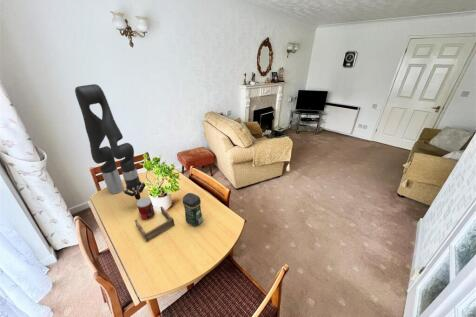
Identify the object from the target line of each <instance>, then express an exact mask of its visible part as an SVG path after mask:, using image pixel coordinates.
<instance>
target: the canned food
mask: <svg viewBox="0 0 476 317" xmlns="http://www.w3.org/2000/svg"><path fill="white" fill-rule="evenodd" d="M136 206H137V210H138V213H139V216H140V218H141V219H142V220H143V221H149V220H151V219H153V218H154V217H155V210H154V207H153V201H152V199H151V198H150V197H142V198H140V199H139V200H137V202H136Z"/></svg>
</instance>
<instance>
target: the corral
mask: <svg viewBox="0 0 476 317" xmlns="http://www.w3.org/2000/svg"><path fill="white" fill-rule="evenodd" d="M160 211H161V214H162V216H164V218H165V219H166V220H167V221H165V222H163V223H161V224H159V225H157V226H156V227H154V228H153V229H150V230H149V231H147V232H146V231H145V229H143V226H141V225H142V224H140V223H139V221H138V219H135V220H134V222H135V226H136V227H137V229H138V231H139V232H140V234H141V235H142V236H143V239H144V240H145V242H146V243H147V242H149V241H151V240H153V239H154V238H156V237H158V236H159V235H161V234H162V233H164V232H165V231H168V230H169V229H171V228H172V227H175V221H174V218H173V217H172V216H171V215H170V213H169V212H168V211H167V210H166V209H165V208H164V207H163V206H160Z"/></svg>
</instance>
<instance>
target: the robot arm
mask: <svg viewBox="0 0 476 317" xmlns="http://www.w3.org/2000/svg"><path fill="white" fill-rule="evenodd" d="M74 93H75V97H76V100H77V102H78V105H79V109H80V111H81V113H82V118H83V123H84V128H85V131H86V132H85V133H86V134H87V135H86V136H87V139H88V142H89V147H90V148H89V149H90V154H91V159H92V160H93V162H94V163H95V164H96V165H99V164H102V165H101V166H100V167H99V170H100V172H101V175H102V177H103V179H104V180H103V181H104V183H105V185H106V188H107V190H108V192H109V194H110V193H112V195H116V194H120V193H122V192H123V194H125V195H127V196H130V197H134V199H135V200H137V201H138V200H140V199H142V198H141V193H143V191H144V189H145V187H146V185H145V184H146V183H145V182H142V181H141V180H140V176H139V173H138V170H137V168H136V164H135V161H134V160H135V149H134V146H133V145H132V144H131V143H129V142H124V143H122V144H119V145H118V142H119V141H121V140H122V139H123V137H124V136H123V134H122V132H121V130H120V128H119V126H118V125H117V122H116V121H115V118H114V116H113V115H114V114H113V113H112V110H111V107H110V105H109V102H108V99H107V98H106V97H107V96H106V95H105V92H104V90H103V89H102V87H101V86H100V85H99V84H96V83H95V84H93V83H92V84H85V85H80V86H76V87H75V88H74ZM96 104H99V106H100V108H101V113H102V114H101V115H102V116H101V118H100V116H98V115H97V114H95V112H93V111H92V110H91V106H92V105H96ZM105 137H106V139H107V141H108V143H109V146H107V145H104V146H102V147H101V144H102V143H103V141H104V140H105ZM115 159H116V160H120V162H119V166H120V170H121V172H122V177H123V179H124V182H125V187H124V185H123V180H122V178H121V176H120V173H119V171H118V166H117V162H116V160H115ZM115 193H116V194H115Z"/></svg>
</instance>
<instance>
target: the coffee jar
mask: <svg viewBox="0 0 476 317" xmlns="http://www.w3.org/2000/svg"><path fill="white" fill-rule="evenodd" d="M201 203H202V200H201V197H200V196H199V195H197V194H195V193H192V192H191V193H190V192H188V193H186V194H185V195H184V196H183V197H182V205H183V207H184V216H185V221H186V223H187V224H188V225H190V226H193V227H197V226H199V225H201V224H202V222H203V220H204V218H203V214H202V210H201Z"/></svg>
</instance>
